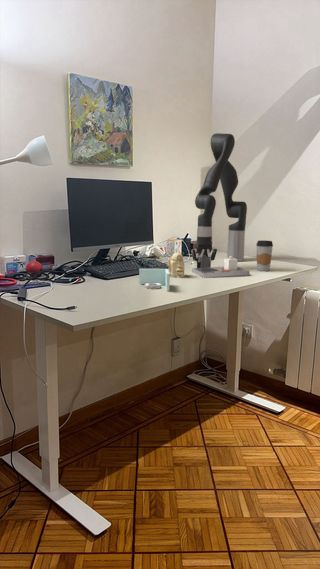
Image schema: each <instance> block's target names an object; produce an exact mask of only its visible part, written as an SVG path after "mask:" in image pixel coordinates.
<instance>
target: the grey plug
mask: <svg viewBox="0 0 320 569" xmlns="http://www.w3.org/2000/svg"><path fill="white" fill-rule="evenodd" d="M210 258H211V257H206V255H204V256H202V258H201V261H200V262H201V264H200V268H209V267H210Z"/></svg>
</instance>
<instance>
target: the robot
mask: <svg viewBox="0 0 320 569" xmlns="http://www.w3.org/2000/svg"><path fill="white" fill-rule="evenodd" d="M180 247H181V246H180V245H177V248H180ZM178 250H179V249H176V252H174V253H173V254H172V255H171V259H170V257H169V258H167V263H168V264H166V267H168V268H167V269H168V271H169V273H170V276H171V277H170V278H177V279H182V278H185V277H187V276H188V275H187V274H185V261H184V256H183V254H182V253H180V252H178ZM179 277H180V278H179ZM181 277H182V278H181Z"/></svg>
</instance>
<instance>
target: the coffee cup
mask: <svg viewBox="0 0 320 569" xmlns="http://www.w3.org/2000/svg"><path fill="white" fill-rule="evenodd" d="M273 246H274V243H273V241H272V240H263V239H262V240H257V242H256V269H257V271H259V272H269V271H270V269H271V263H272V257H273V256H272V255H273V254H272V253H273Z"/></svg>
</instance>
